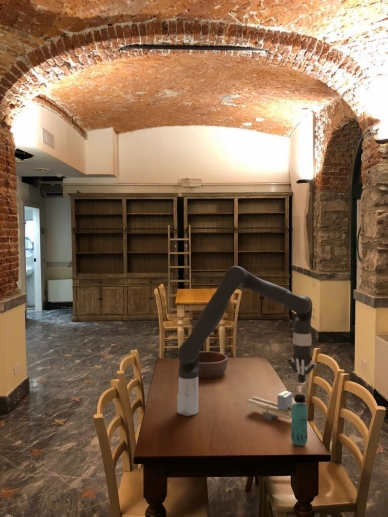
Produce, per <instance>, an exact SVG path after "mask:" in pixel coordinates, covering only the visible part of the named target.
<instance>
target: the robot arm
mask: <svg viewBox="0 0 388 517" xmlns="http://www.w3.org/2000/svg"><path fill="white" fill-rule="evenodd" d="M218 285H219V286H218V287H217V289H216V290H215V291H214V293H213V295H212V296H211V297H210V299H209V300H208V302H207V304H206V305H205V307H204V308H203V309H202V311H201V312H200V315H199V316H198V318H197V320H196V322H195V325H194V326H193V329H192V330H191V333H190V334H189V335H188V337H187V338H186V340H184V341H183V342H181V344H180V345H179V347H178V350H177V358H178V361H179V365H178V392H177V393H176V395H177V397H176V398H177V399H176V401H177V402H176V403H177V405H176V406H177V409H176V410H177V411H176V412H177V414H179V415H182V416H184V417H189V416H194V415H196V414H198V413H199V378H198V369H199V352H201V348H202V346H203V345H204V343H205V342H206V340H207V339H208V338H209V337H210V336H211V334H212V333H213V332H214V331H215V329H216V327H217V326H218V325H219V323H220V322H221V321H222V319H223V317H224V316H225V313H226V310H227V309H228V305H229V302H230V300H231V298H232V296H233V295H234V293H235V292H236V290H237V289H238V288H243V289H247V290H250V291H253V292H256V293H258V294H259V295H261V296H263V297H264V298H266V299H268V300H270V301H272V302H276V303H277V304H279V305H282V306H284V307H286V308H287V309H288V310H290V311H292V312H294V313H295V319H294V321H293V337H292V340H293V342H292V344H293V345H292V346H293V347H292V350H293V351H292V353H293V354H292V356H291V357H290V358H288V359H287V362H288V363H289V366H290V367H291V369H292V370H293V371H294V372H295V373H297V380H298V382H299V383H300V384H304V383H305V382H306V380H307V377H306V376H307V375H308V374H311V373H312V371H313V370H314V369H315V368H316V367H317V366H318V364H317V362H314V361H313V358H312V342H313V341H312V316H313V315H312V314H313V301H312V299H311V298H310V297H309V296H307V295H300V296H299V295H297V294H294V293H292V291H291V290H289V289H288V288H285V287H282V286H280V285H277V284H275V283H272V282H269V281H266V280H264V279H263V278H262V279H261V278H259V277H257V276H256V275H254V274H251V272H249V271H247V270H246V269H245V268H243V267H242V266H238V265H233V266H230V267H229V268H228V269H227V270H226V271H225V273H224V275H223V277H222V279H221V281H220V283H219V284H218ZM308 366H309V367H308Z"/></svg>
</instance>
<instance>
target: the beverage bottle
mask: <svg viewBox="0 0 388 517" xmlns="http://www.w3.org/2000/svg"><path fill="white" fill-rule="evenodd" d="M305 402H306V395H304V394H299V393H298V394H295V395H294V403H292V406H291V407H292V418H291V423H290V440H291V443H293V444H294V445H297V446H304V445H306V444H307V442H308V432H309V431H308V420H309V419H308V409H309V407H308V406H307V404H305Z"/></svg>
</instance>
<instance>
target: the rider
mask: <svg viewBox="0 0 388 517" xmlns="http://www.w3.org/2000/svg"><path fill="white" fill-rule="evenodd" d="M292 405H293V392H289V391H288V390H287V391H285V390H283V391H282V392H280V393H278V394H277V408H279V409H282V410H285V411H286V410H290V407H292Z"/></svg>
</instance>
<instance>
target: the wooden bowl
mask: <svg viewBox="0 0 388 517" xmlns="http://www.w3.org/2000/svg"><path fill="white" fill-rule="evenodd" d="M228 360H229V358H228V355H226V354H224V353H222V352H218V351H209V350H206V351H205V350H203V351H201V350H200V351H199V369H198V379H201V378H202V379H201V380H212V379H219V378H220V376H221V377H222V376H223V375H224V374H225V373H226V371H227V366H228Z"/></svg>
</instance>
